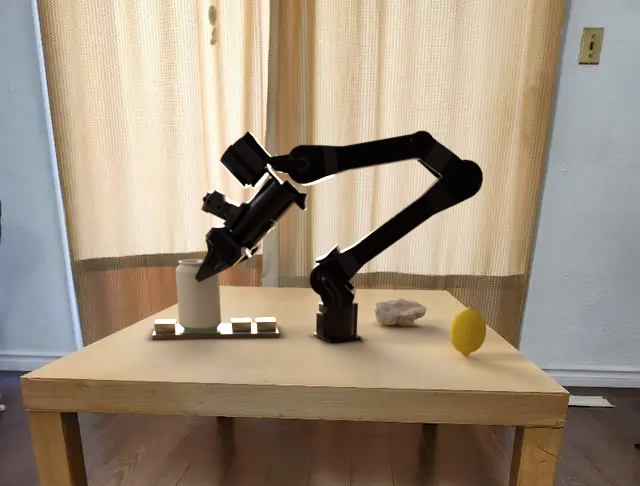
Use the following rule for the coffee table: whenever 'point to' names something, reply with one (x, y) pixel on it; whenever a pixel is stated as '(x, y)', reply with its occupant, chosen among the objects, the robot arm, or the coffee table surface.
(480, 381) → the coffee table surface
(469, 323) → the lemon
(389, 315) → the whitish grey lumpy stone
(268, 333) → the word board
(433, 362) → the coffee table surface
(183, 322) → the can
